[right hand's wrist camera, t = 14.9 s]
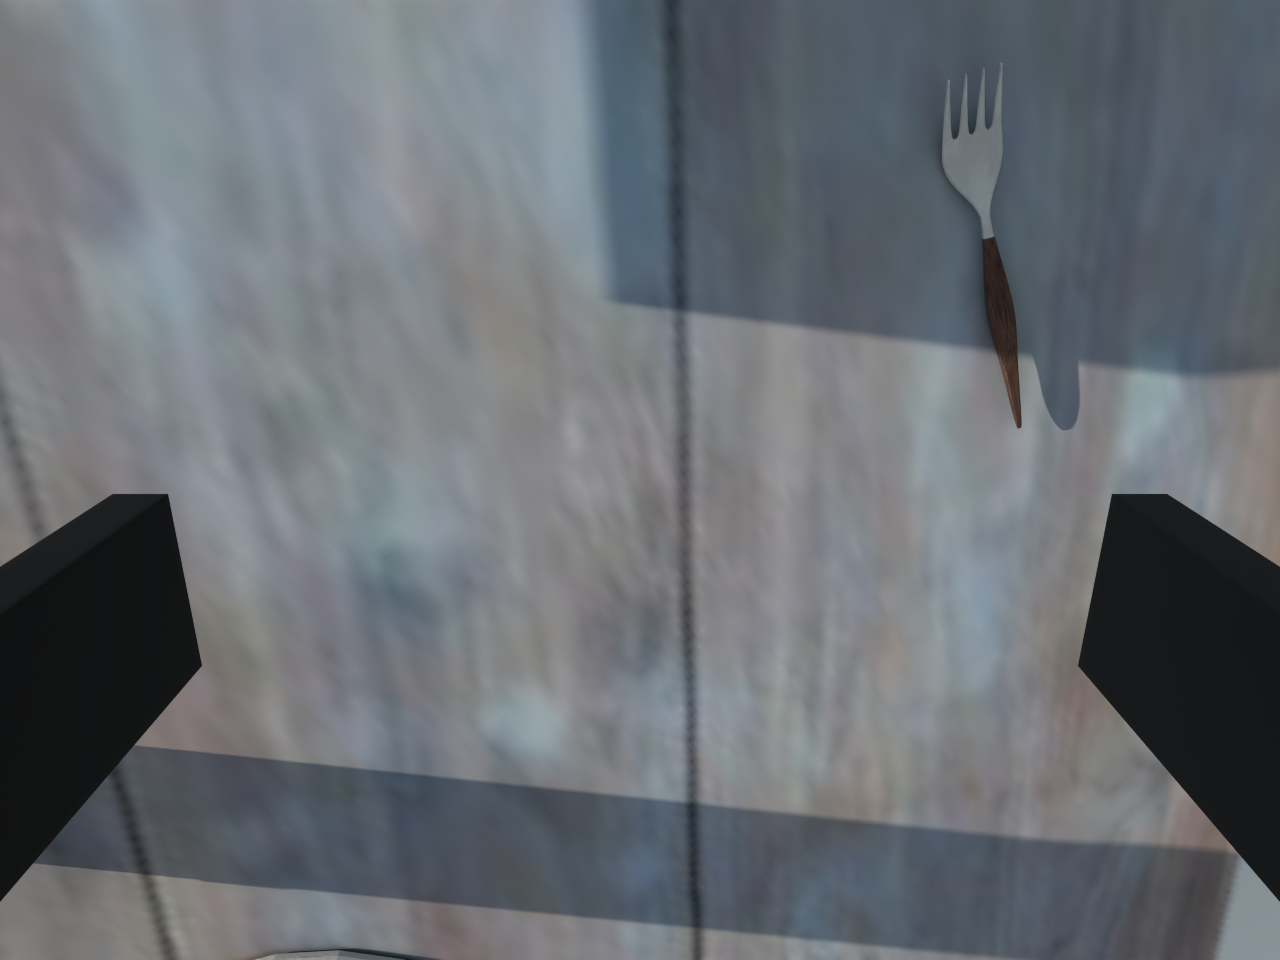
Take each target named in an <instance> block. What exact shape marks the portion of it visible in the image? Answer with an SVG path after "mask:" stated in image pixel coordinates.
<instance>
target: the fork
mask: <svg viewBox="0 0 1280 960" xmlns="http://www.w3.org/2000/svg"><path fill="white" fill-rule="evenodd" d="M1002 71H1003V63H1002V62H1001V63H1000V66H999V74H998V81H997V88H996V95H995V103H994V112H993V120H992V125H991V127H990V128H989V129H987V128H986V126H985V69H984V68H983V69H982V75H981V83H980V91H979V99H978V108H977V119H976V127H975V131H974V133H973V134H970V133H969V130H968V107H967V74H965V77H964V85H963V94H962V104H961V114H960V126H959V133H958V137H957V138H956V139H953V138H952V133H951V113H950V79H947V87H946V97H945V108H944V121H943V140H942V164H943V168H944V171H945V174H946V176H947V178H948V179H949V181H950V182H951V184H952V185H953V186H954V187H955V188H956V189H957V190H958V191H959V192H960V193H961V194H962V195H963V196H964V197H965V198H966V199H967V200H968V201H969V202H970V203H971V204H972V206H973V207H974V208H975V209H976V211H977V212H978V214H979V217H980V221H981V227H982V242H983V267H984V288H985V303H986V311H987V317H988V322H989V327H990V330H991V334H992V338H993V341H994V345H995V348H996V352H997V355H998V358H999V362H1000V365H1001V369H1002V373H1003V376H1004V380H1005V384H1006V388H1007V392H1008V396H1009V400H1010V404H1011V408H1012V412H1013V416H1014V419H1015V423H1016V426H1017V428H1021V403H1020V389H1019V374H1018V356H1017V334H1016V321H1015V313H1014V307H1013V302H1012V298H1011V294H1010V290H1009V286H1008V282H1007V279H1006V275H1005V272H1004V268H1003V265H1002V261H1001V258H1000V254H999V251H998V247H997V244H996V240H995V236H994V233H993V229H992V224H991V219H990V205H991V200H992V196H993V192H994V189H995V185H996V182H997V179H998V175H999V171H1000V167H1001V162H1002V155H1003V134H1002Z"/></svg>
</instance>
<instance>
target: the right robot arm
mask: <svg viewBox="0 0 1280 960" xmlns="http://www.w3.org/2000/svg"><path fill="white" fill-rule="evenodd" d="M201 666H202V664H201V659H200V654H199V649H198V643H197V638H196V633H195V628H194V623H193V618H192V613H191V608H190V603H189V598H188V593H187V588H186V583H185V578H184V573H183V568H182V563H181V558H180V553H179V548H178V542H177V537H176V532H175V527H174V522H173V517H172V512H171V507H170V502H169V497H168V494H112V495H111V496H109V497H108V498H106V499H104V500H103V501H101V502H100V503H98V504H97V505H95V506H94V507H92V508H91V509H89V510H87V511H86V512H84V513H83V514H81V515H80V516H78V517H77V518H75V519H74V520H72V521H70V522H69V523H67V524H66V525H64V526H63V527H61V528H60V529H58V530H56V531H55V532H53V533H52V534H50V535H49V536H47V537H46V538H44V539H43V540H41V541H39V542H38V543H36V544H35V545H33V546H32V547H30V548H29V549H27V550H26V551H24V552H22V553H21V554H19V555H18V556H16V557H15V558H13V559H12V560H10V561H9V562H7V563H5V564H4V565H2V566H1V567H0V901H1V900H2V899H3V898H4V897H5V895H6V894H7V893H8V892H9V891H10V890H11V888H12V887H13V886H14V885H15V884H16V883H17V881H18V880H19V879H20V878H21V877H22V876H23V874H24V873H25V872H26V871H27V870H28V869H29V867H30V866H31V865H32V864H33V863H34V862H35V860H36V859H37V858H38V857H39V856H40V854H41V853H42V852H43V851H44V850H45V849H46V847H47V846H48V845H49V844H50V843H51V842H52V840H53V839H54V838H55V837H56V836H57V835H58V833H59V832H60V831H61V830H62V829H63V828H64V826H65V825H66V824H67V823H68V822H69V821H70V819H71V818H72V817H73V816H74V815H75V814H76V812H77V811H78V810H79V809H80V808H81V807H82V805H83V804H84V803H85V802H86V801H87V800H88V798H89V797H90V796H91V795H92V794H93V793H94V791H95V790H96V789H97V788H98V787H99V785H100V784H101V783H102V782H103V781H104V780H105V778H106V777H107V776H108V775H109V774H110V773H111V771H112V770H113V769H114V768H115V767H116V766H117V764H118V763H119V762H120V761H121V760H122V759H123V757H124V756H125V755H126V754H127V753H128V752H129V750H130V749H131V748H132V747H133V746H134V745H135V743H136V742H137V741H138V740H139V739H140V738H141V736H142V735H143V734H144V733H145V732H146V731H147V729H148V728H149V727H150V726H151V725H152V724H153V722H154V721H155V720H156V719H157V718H158V717H159V715H160V714H161V713H162V712H163V711H164V709H165V708H166V707H167V706H168V705H169V704H170V702H171V701H172V700H173V699H174V698H175V697H176V695H177V694H178V693H179V692H180V691H181V690H182V688H183V687H184V686H185V685H186V684H187V683H188V681H189V680H190V679H191V678H192V677H193V676H194V674H195V673H196V672H197V671H198V670H199V669H200V667H201ZM1078 666H1079V667H1080V669H1081V670H1082V671H1083V672H1084V673H1085V674H1086V676H1087V677H1088V678H1089V679H1090V680H1091V681H1092V683H1093V684H1094V685H1095V686H1096V687H1097V688H1098V690H1099V691H1100V692H1101V693H1102V694H1103V695H1104V697H1105V698H1106V699H1107V700H1108V701H1109V702H1110V704H1111V705H1112V706H1113V707H1114V708H1115V709H1116V711H1117V712H1118V713H1119V714H1120V715H1121V717H1122V718H1123V719H1124V720H1125V721H1126V722H1127V724H1128V725H1129V726H1130V727H1131V728H1132V729H1133V731H1134V732H1135V733H1136V734H1137V735H1138V736H1139V738H1140V739H1141V740H1142V741H1143V742H1144V743H1145V745H1146V746H1147V747H1148V748H1149V749H1150V750H1151V752H1152V753H1153V754H1154V755H1155V756H1156V757H1157V759H1158V760H1159V761H1160V762H1161V763H1162V764H1163V766H1164V767H1165V768H1166V769H1167V770H1168V771H1169V773H1170V774H1171V775H1172V776H1173V777H1174V778H1175V780H1176V781H1177V782H1178V783H1179V784H1180V786H1181V787H1182V788H1183V789H1184V790H1185V791H1186V793H1187V794H1188V795H1189V796H1190V797H1191V798H1192V800H1193V801H1194V802H1195V803H1196V804H1197V805H1198V807H1199V808H1200V809H1201V810H1202V811H1203V812H1204V814H1205V815H1206V816H1207V817H1208V818H1209V819H1210V821H1211V822H1212V823H1213V824H1214V825H1215V826H1216V828H1217V829H1218V830H1219V831H1220V832H1221V833H1222V835H1223V836H1224V837H1225V838H1226V839H1227V840H1228V842H1229V843H1230V844H1231V845H1232V846H1233V847H1234V849H1235V850H1236V851H1237V852H1238V853H1239V854H1240V856H1241V857H1242V858H1243V859H1244V860H1245V862H1246V863H1247V864H1248V865H1249V866H1250V867H1251V868H1252V870H1253V871H1254V872H1255V873H1256V874H1257V876H1258V877H1259V878H1260V879H1261V880H1262V881H1263V883H1264V884H1265V885H1266V886H1267V887H1268V888H1269V890H1270V891H1271V892H1272V893H1273V894H1274V895H1275V897H1276V898H1277V899H1278V900H1279V901H1280V567H1279V566H1278V565H1276V564H1275V563H1273V562H1271V561H1270V560H1268V559H1267V558H1265V557H1264V556H1262V555H1261V554H1259V553H1258V552H1256V551H1254V550H1253V549H1251V548H1250V547H1248V546H1247V545H1245V544H1244V543H1242V542H1241V541H1239V540H1237V539H1236V538H1234V537H1233V536H1231V535H1230V534H1228V533H1227V532H1225V531H1224V530H1222V529H1220V528H1219V527H1217V526H1216V525H1214V524H1213V523H1211V522H1210V521H1208V520H1206V519H1205V518H1203V517H1202V516H1200V515H1199V514H1197V513H1196V512H1194V511H1193V510H1191V509H1189V508H1188V507H1186V506H1185V505H1183V504H1182V503H1180V502H1179V501H1177V500H1176V499H1174V498H1172V497H1171V496H1169V495H1168V494H1112V497H1111V502H1110V507H1109V512H1108V517H1107V522H1106V527H1105V532H1104V537H1103V542H1102V548H1101V553H1100V558H1099V563H1098V568H1097V573H1096V578H1095V583H1094V588H1093V593H1092V598H1091V603H1090V608H1089V613H1088V618H1087V623H1086V628H1085V633H1084V638H1083V643H1082V649H1081V654H1080V659H1079V664H1078Z"/></svg>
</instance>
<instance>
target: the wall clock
mask: <svg viewBox="0 0 1280 960" xmlns="http://www.w3.org/2000/svg"><path fill="white" fill-rule="evenodd" d="M255 960H404V959H397V958H390V957H383V956H376V955H369V954H362V953H355V952H348V951H341V950H337V951H318V952H300V953H282V954H274V955H270V956H266V957H263V958H259V959H255Z"/></svg>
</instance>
